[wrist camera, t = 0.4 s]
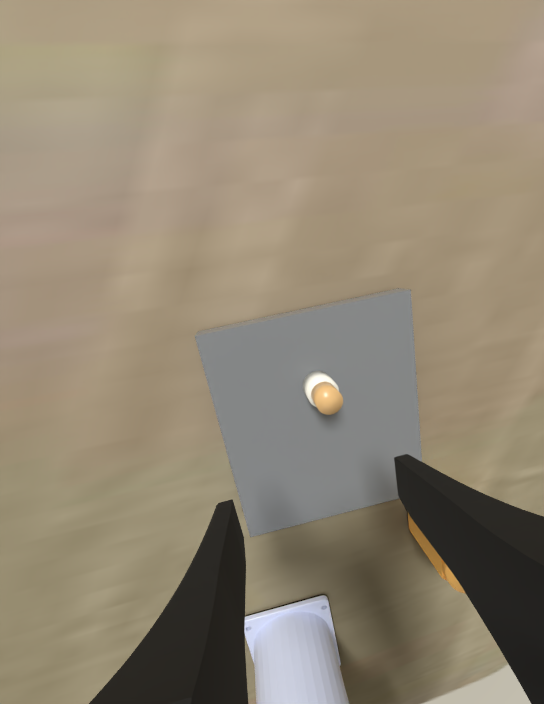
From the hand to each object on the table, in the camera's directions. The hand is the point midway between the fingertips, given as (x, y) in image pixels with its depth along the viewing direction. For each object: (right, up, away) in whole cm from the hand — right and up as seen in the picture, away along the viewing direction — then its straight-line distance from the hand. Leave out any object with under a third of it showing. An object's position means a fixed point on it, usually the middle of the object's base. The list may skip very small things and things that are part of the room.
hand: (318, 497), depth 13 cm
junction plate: (+1, +2, +10) cm, 10 cm away
